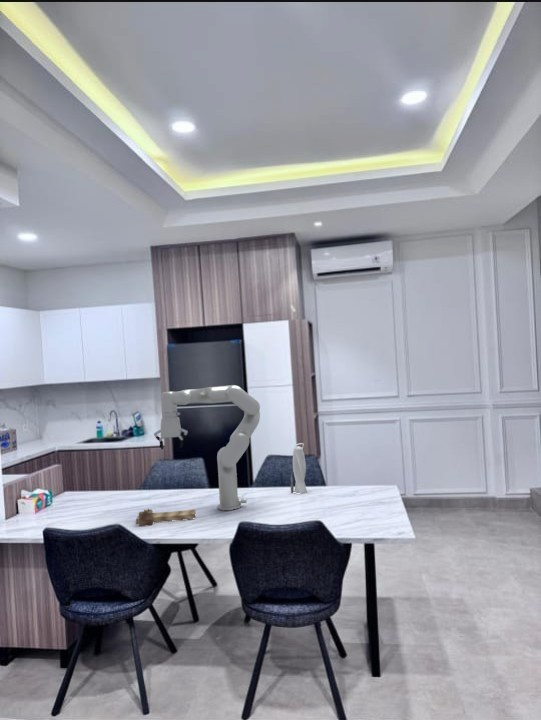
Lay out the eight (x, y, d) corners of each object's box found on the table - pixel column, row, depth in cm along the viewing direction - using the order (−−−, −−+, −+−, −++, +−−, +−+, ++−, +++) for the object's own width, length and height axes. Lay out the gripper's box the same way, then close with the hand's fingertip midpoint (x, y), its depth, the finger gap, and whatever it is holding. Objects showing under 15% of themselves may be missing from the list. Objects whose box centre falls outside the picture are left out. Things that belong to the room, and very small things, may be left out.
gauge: (155, 518, 241) (154, 504, 242) (152, 525, 230) (151, 510, 231) (143, 519, 241) (142, 505, 241) (139, 526, 230) (138, 511, 230)
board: (195, 514, 245) (195, 509, 245) (194, 519, 237) (194, 514, 237) (139, 519, 242) (139, 514, 242) (136, 524, 234) (136, 518, 234)
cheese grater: (300, 490, 284) (298, 442, 285) (310, 492, 278) (307, 443, 278) (290, 493, 278) (287, 444, 279) (299, 495, 272) (296, 445, 273)
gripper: (187, 413, 256) (189, 446, 255) (154, 415, 254) (155, 448, 253) (186, 414, 248) (187, 448, 248) (151, 417, 246) (153, 450, 246)
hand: (171, 448), depth 250 cm, fingers open, 9 cm apart
